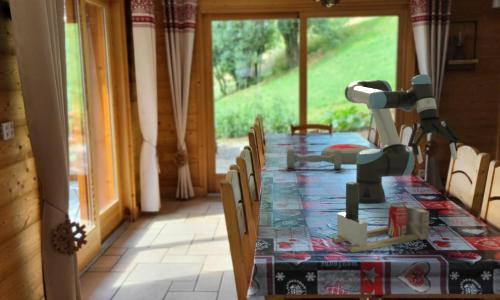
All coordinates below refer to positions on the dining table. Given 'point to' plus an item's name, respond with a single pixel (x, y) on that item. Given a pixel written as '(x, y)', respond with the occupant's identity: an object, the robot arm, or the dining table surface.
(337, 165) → the dumbbell
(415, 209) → the base
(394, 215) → the soda can
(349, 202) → the vice jaw
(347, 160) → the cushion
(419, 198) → the dining table surface
